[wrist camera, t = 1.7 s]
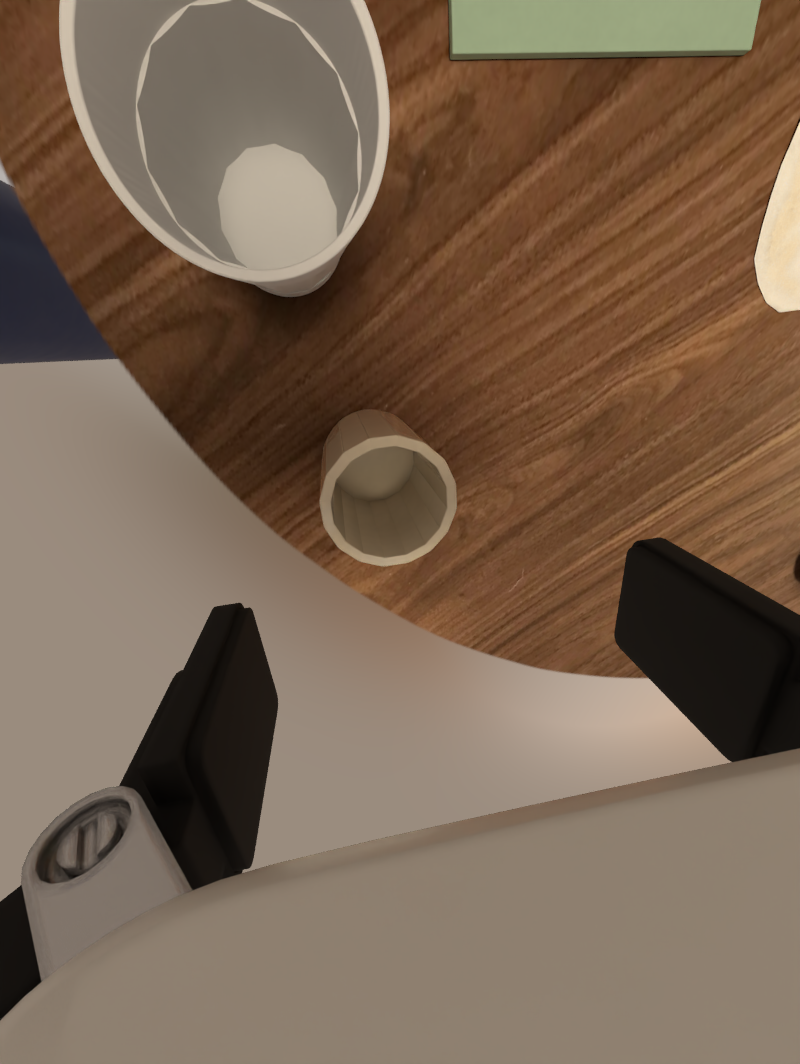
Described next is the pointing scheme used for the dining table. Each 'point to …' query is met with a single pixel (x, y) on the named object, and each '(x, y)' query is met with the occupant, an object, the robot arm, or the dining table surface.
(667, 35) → the mat
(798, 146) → the cracked egg
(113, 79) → the cup
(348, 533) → the glazed cup
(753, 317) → the dining table surface
